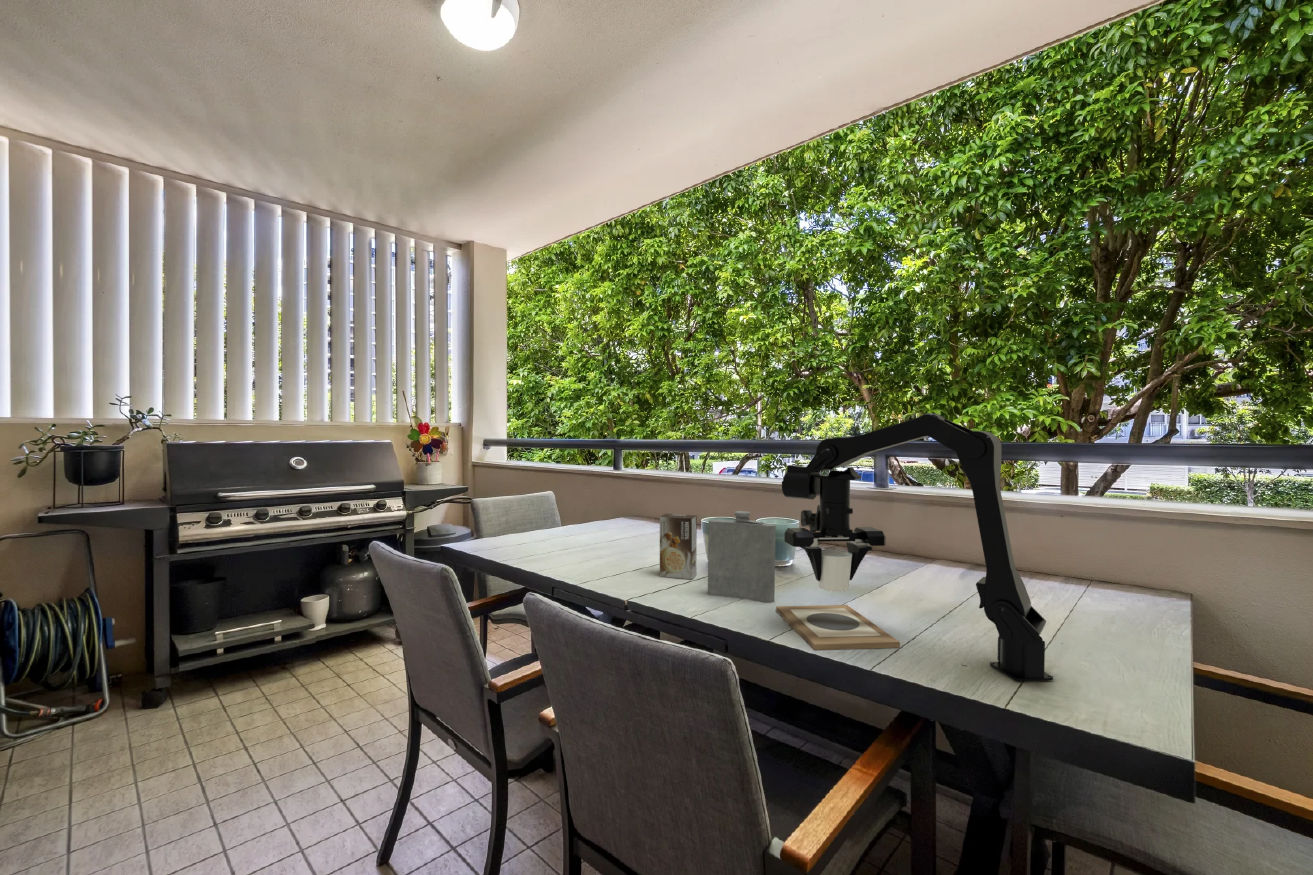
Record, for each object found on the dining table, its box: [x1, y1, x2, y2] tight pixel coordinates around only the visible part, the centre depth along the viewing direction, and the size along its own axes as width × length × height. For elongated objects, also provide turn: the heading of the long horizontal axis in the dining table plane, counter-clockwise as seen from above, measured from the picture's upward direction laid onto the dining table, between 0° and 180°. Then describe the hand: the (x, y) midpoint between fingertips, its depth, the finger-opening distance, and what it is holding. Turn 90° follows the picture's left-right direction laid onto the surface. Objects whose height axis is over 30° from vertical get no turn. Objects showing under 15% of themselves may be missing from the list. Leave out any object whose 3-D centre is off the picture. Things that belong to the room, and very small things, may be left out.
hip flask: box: [707, 510, 777, 604], centre depth 134 cm, size 16×4×20 cm, turn 66°
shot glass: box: [818, 549, 852, 592], centre depth 113 cm, size 7×7×7 cm
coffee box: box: [659, 513, 698, 580], centre depth 153 cm, size 9×6×16 cm
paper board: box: [775, 604, 901, 651], centre depth 114 cm, size 22×16×1 cm
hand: (833, 580), depth 113 cm, fingers closed on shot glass, 6 cm apart
